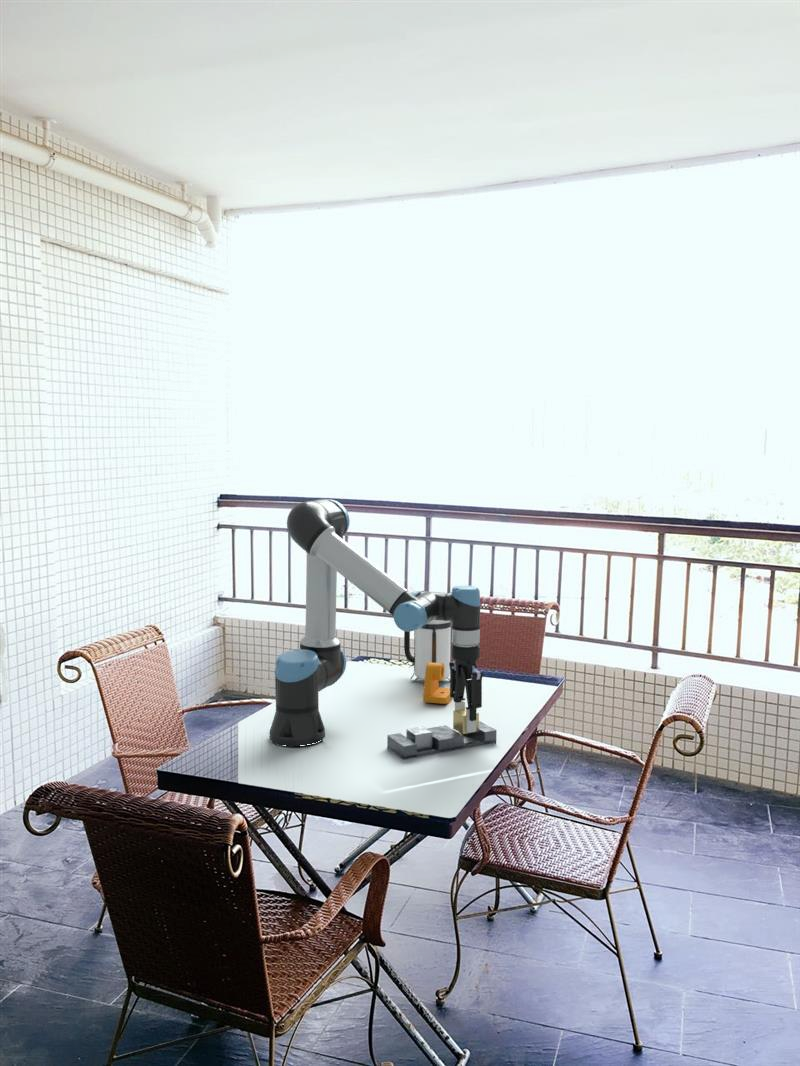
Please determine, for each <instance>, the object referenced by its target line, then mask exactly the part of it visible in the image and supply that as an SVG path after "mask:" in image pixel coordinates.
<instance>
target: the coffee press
mask: <svg viewBox="0 0 800 1066" xmlns="http://www.w3.org/2000/svg"><path fill="white" fill-rule="evenodd" d="M403 632H404V634H403V635H404V636H403V637H404V638H403V639H404V640H403V641H404V642H403V643H404V644H403V645H404V647H403V648H404V649H403V650H404V655H405V658H406V659H407V660H408V662H410V663H412V664H413V674H412V675H411V676H410V682H411V681H414V682H415V681H417V680H420V681H425V673H426V666H427V663H428V662H432V663H443V664H444V678H443V680H442V681H445V680H449V681H450V666H449V662H452V621H444V620H433V621H431V622H429V623H427V624H425V625H424V626H422V627H421V628H420V629H418V630H414V631H413V632H414V634H413V635H414V636H413V637H414V638H413V646H414V647H413V651H414V652H413V656H412V653H411V651H410V650H411V648H410V647H411V643H410V642H411V631H410V632H407V631H403ZM414 676H415V679H413V678H414ZM412 679H413V680H412ZM438 682H440V681H439V680H438Z"/></svg>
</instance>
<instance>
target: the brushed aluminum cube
mask: <svg viewBox="0 0 800 1066" xmlns="http://www.w3.org/2000/svg"><path fill="white" fill-rule="evenodd" d="M405 737H407V738H408V739H410V740H411V741H413V742H414V743H416V744H417V752H420V751H426V750H431V749H432V732H431V731H430V730H428V729H427V727H425V726H419V727H418V726H417V727H412V728H407V729H406V736H405Z"/></svg>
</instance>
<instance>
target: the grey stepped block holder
mask: <svg viewBox="0 0 800 1066" xmlns="http://www.w3.org/2000/svg"><path fill="white" fill-rule="evenodd" d="M426 729H428V730H430V731H431V732H432V749H431V750H426V751H420V752H417V744H416V743H414V742H413V741H411V740H410V739H408V738H407V737H406V736H405V735H404V734H402V733H401V732H398V733H393V734H388V735H387V737H386V738H387V741H386V742H387V746H386V747H387V749H388V750H390V751H391V752H393V753H394V754H395V755H396V756H398V757H399V758H401V759H402V760H409V759H410V760H411V759H413V758H419V757H420V758H421V757H425V756H432V755H436V754H442V753H447V752H452V751H458V750H463V749H468V748H469V749H470V748H474V747H479V746H484V745H485V746H486V745H490V744H494V745H497V732H498V730H497V729H496V728H493V727H492V726H490V725H487V724H486V723H484V722H482V721H480V720H479V731H477V732H472V733H466V734H462V733H460V732H458V731H456V730H455V729H453V728H451V727H450V726H447V725H440V726H434V727H426Z"/></svg>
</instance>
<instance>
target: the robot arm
mask: <svg viewBox="0 0 800 1066" xmlns="http://www.w3.org/2000/svg"><path fill="white" fill-rule="evenodd" d="M349 527H350V516H349V512H348V511H347V508H346V507H345V506H344V505H343V504H342V503H340V502H339V501H337V500H335V499H328V498H327V499H326V498H324V499H323V498H320V499H316V500H310V501H308V500H307V501H302V502H300V503H298V504H296V505H295V506H294V507H292V508H291V510H290V511H289V513H288V515H287V520H286V528H287V531H288V534H289V536H290V538H291V539H292V540H293V541H294V542H295V543H296V544H297V545H298V546H299V547H300V548H301V549H302V550H303V551H304V552H305V553H306V582H305V583H306V584H305V586H306V587H305V589H306V590H305V633H304V636H303V637H302V638H301V639H300V641H299V649H292V650H289V651H285V652H284V653H281V654H280V655H278V656H277V658H276V660H275V664H274V665H275V667H274V678H275V679H274V681H275V682H274V683H275V686H274V687H275V688H274V689H275V712H274V716H273V720H272V721H271V722H272V723H271V726H270V729H269V741H270V740H271V741H272V742H273V743H272V742H271V741H270V742H271V743H272V744H274V743H275V744H274V745H276V744H279V745H278V746H280V745H286V746H300V745H307V744H312V743H316V742H318V741H320V740H324V739H325V738H326V728H325V724H324V722H323V718H322V715H321V713H320V709H319V692H321V691H323V690H324V689H326V688H327V687H330V686H332V685H334V684H335V683H337V682H338V680H340V679H341V677H342V676H343V675H344V673H345V671H346V668H347V658H346V655H345V652H344V651H343V650H342V647H341V640H340V639H339V638H338V637H337V635H336V630H337V629H336V625H337V624H336V623H337V617H336V616H337V586H338V585H337V584H338V583H337V581H338V579H337V577H338V576H337V575H338V574H340V575H341V576H342V577H344V578H345V579H346V580H347V581H348V582H350V583H351V584H352V585H354V586H355V587H356V588H357V589H359V591H361V592H363V593H364V594H365V595H366V596H367V597H369V599H371V600H372V601H373V602H375V603H376V604H378V606H380V607H381V608H383V610H385V611H386V612H388V613H389V614H390V615H391V616H393V621H394V624H395V625H396V627H397V628H399V629H400V630H401V631H403V632H404V631H407V632H410V633H411V632H414V630H418V629H420V628H421V627H422V626H424V625H425V624H427V623H429V622H431V621H433V620H444V621H451V659H453V660H455V661H451V662H449V666H450V676H449V679H450V680H449V688H450V697H451V698H452V700H453V702H454V711H455V710H461V709H466V732H467V733H469V732H475V731H476V712H477V709H479V708H482V706H483V703H482V701H483V699H482V695H483V692H482V690H483V687H482V686H483V685H482V684H483V677H484V673H483V671H481V670H480V671H479V670H478V669H477V668H478V667H477V660H479V659H480V658H481V657H480V656H481V646H480V644H479V643H480V642H481V640H480V639H481V605H482V604H481V594H480V593H481V592H480V589H479V588H478V587H477V586H475V585H463V584H461V585H455V586H453V587H452V588H451V592H437V591H426V590H414V591H411V592H410V591H409V590H408V589H406V588H405V587H404V586H403V585H402V584H400V583H399V582H397V581H396V580H395V579H394V578H392V577H391V576H390V575H389V574H387V573H386V572H385V571H383V570H382V568H380V567H378V566H377V565H376V564H375V563H374V562H372V561H371V560H370V559H369V558H367V557H365V555H364V554H362V553H361V552H360V551H358V550H357V549H355V548H354V547H353V546H352V545H351V544H349V543H348V542H347V541H345V540H344V536H345V535H346V533H347V531H348V530H349V529H350V528H349ZM465 693H466V698H465ZM465 700H466V701H467V703H466V701H465ZM466 704H467V706H466Z"/></svg>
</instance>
